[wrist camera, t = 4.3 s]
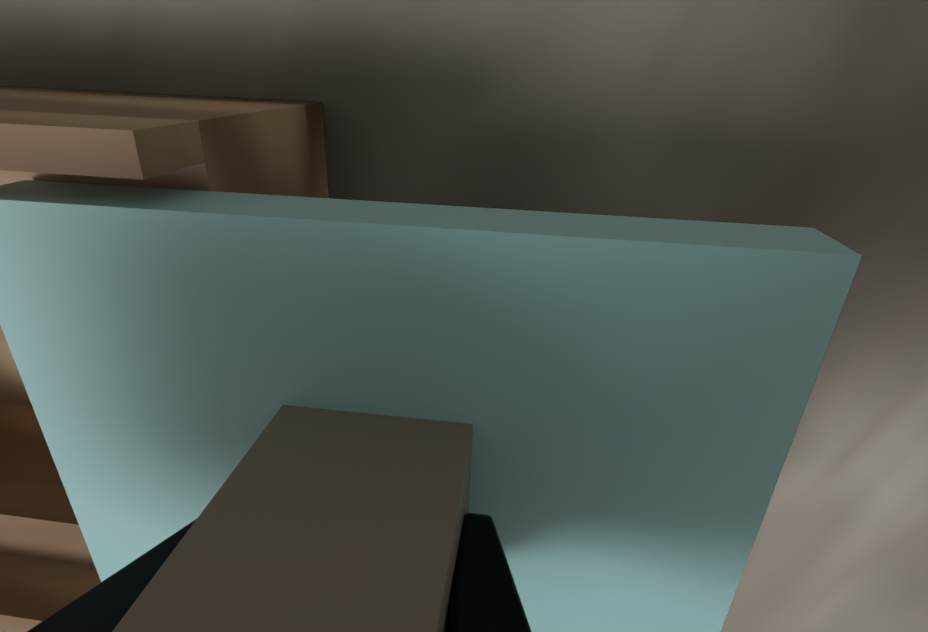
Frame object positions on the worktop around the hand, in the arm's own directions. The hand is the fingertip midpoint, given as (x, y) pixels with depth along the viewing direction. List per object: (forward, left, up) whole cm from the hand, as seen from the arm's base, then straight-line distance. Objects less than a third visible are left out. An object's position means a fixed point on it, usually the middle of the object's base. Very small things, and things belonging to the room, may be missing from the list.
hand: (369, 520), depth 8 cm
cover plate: (0, 0, -2) cm, 2 cm away
